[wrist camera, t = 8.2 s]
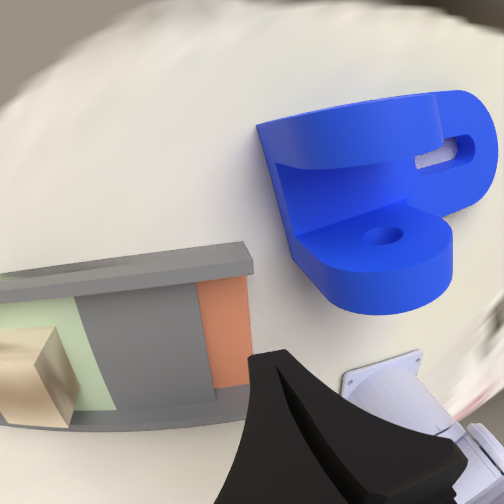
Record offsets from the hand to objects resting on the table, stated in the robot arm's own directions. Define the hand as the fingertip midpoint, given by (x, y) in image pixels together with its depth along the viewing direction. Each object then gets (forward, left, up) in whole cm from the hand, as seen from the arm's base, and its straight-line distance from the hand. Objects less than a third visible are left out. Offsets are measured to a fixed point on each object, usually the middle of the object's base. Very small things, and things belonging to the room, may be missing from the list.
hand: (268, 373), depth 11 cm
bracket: (+6, -12, -10) cm, 17 cm away
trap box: (-4, +13, -9) cm, 16 cm away
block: (-4, +14, -8) cm, 17 cm away
